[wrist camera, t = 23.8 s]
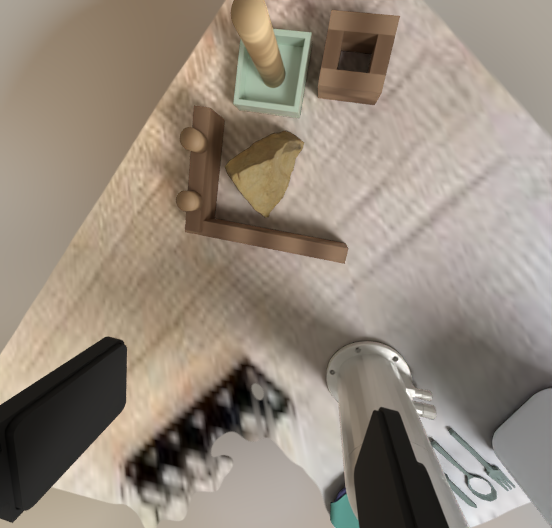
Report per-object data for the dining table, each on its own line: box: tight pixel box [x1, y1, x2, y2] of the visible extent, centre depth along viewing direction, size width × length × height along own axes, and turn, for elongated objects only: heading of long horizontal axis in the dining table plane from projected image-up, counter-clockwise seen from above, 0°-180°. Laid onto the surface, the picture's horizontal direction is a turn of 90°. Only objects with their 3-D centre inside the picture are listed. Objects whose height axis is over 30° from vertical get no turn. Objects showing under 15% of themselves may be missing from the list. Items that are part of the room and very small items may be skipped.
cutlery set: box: [330, 429, 515, 528], centre depth 46 cm, size 20×30×2 cm, turn 137°
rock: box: [225, 131, 304, 218], centre depth 34 cm, size 11×9×10 cm
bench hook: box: [176, 106, 348, 264], centre depth 34 cm, size 22×16×7 cm
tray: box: [233, 29, 312, 118], centre depth 33 cm, size 8×8×2 cm
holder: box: [318, 10, 400, 105], centre depth 30 cm, size 7×7×4 cm
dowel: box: [231, 0, 286, 88], centre depth 28 cm, size 3×3×12 cm
